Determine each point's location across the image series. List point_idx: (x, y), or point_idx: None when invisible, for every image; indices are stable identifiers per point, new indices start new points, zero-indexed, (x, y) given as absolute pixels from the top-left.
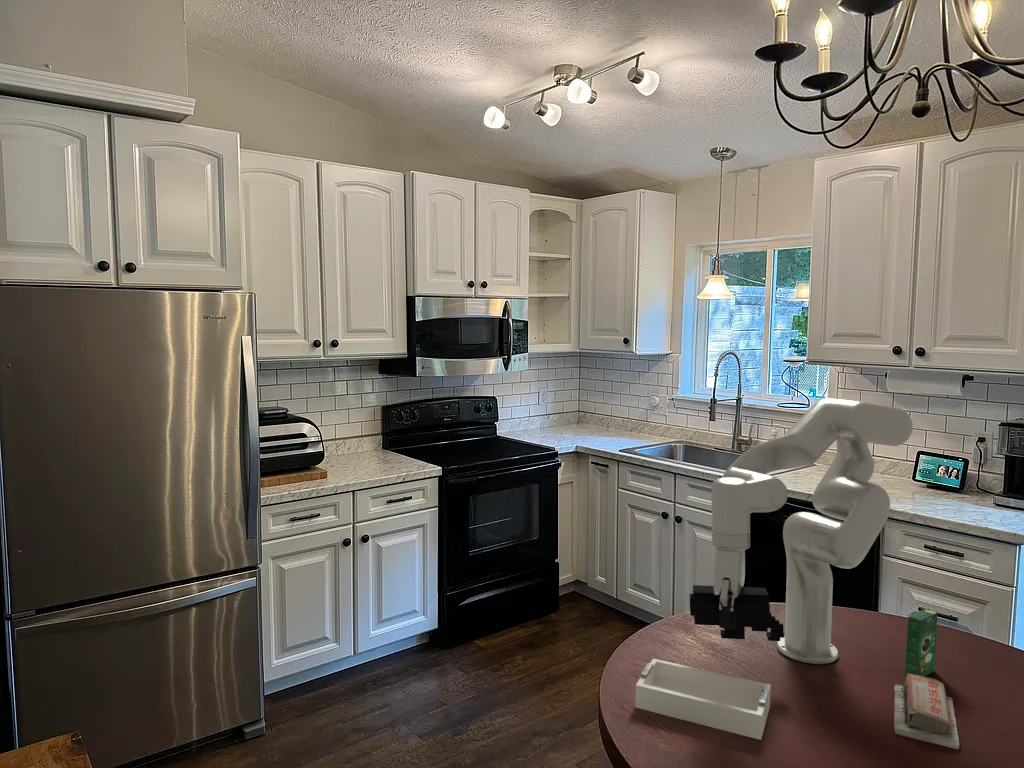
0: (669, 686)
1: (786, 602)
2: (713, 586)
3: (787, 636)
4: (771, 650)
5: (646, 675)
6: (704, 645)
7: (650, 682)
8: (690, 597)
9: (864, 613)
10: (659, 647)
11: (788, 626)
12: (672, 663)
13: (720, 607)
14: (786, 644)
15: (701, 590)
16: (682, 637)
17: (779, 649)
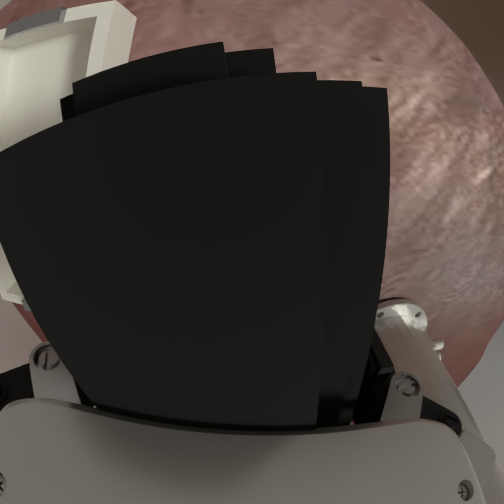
0: (83, 71)
1: (430, 389)
2: (300, 395)
3: (388, 337)
4: (382, 288)
5: (7, 37)
6: (390, 139)
7: (59, 32)
8: (81, 81)
9: (468, 371)
10: (345, 16)
11: (395, 356)
12: (97, 61)
13: (34, 360)
14: (383, 322)
15: (76, 266)
16: (419, 85)
17: (378, 305)
